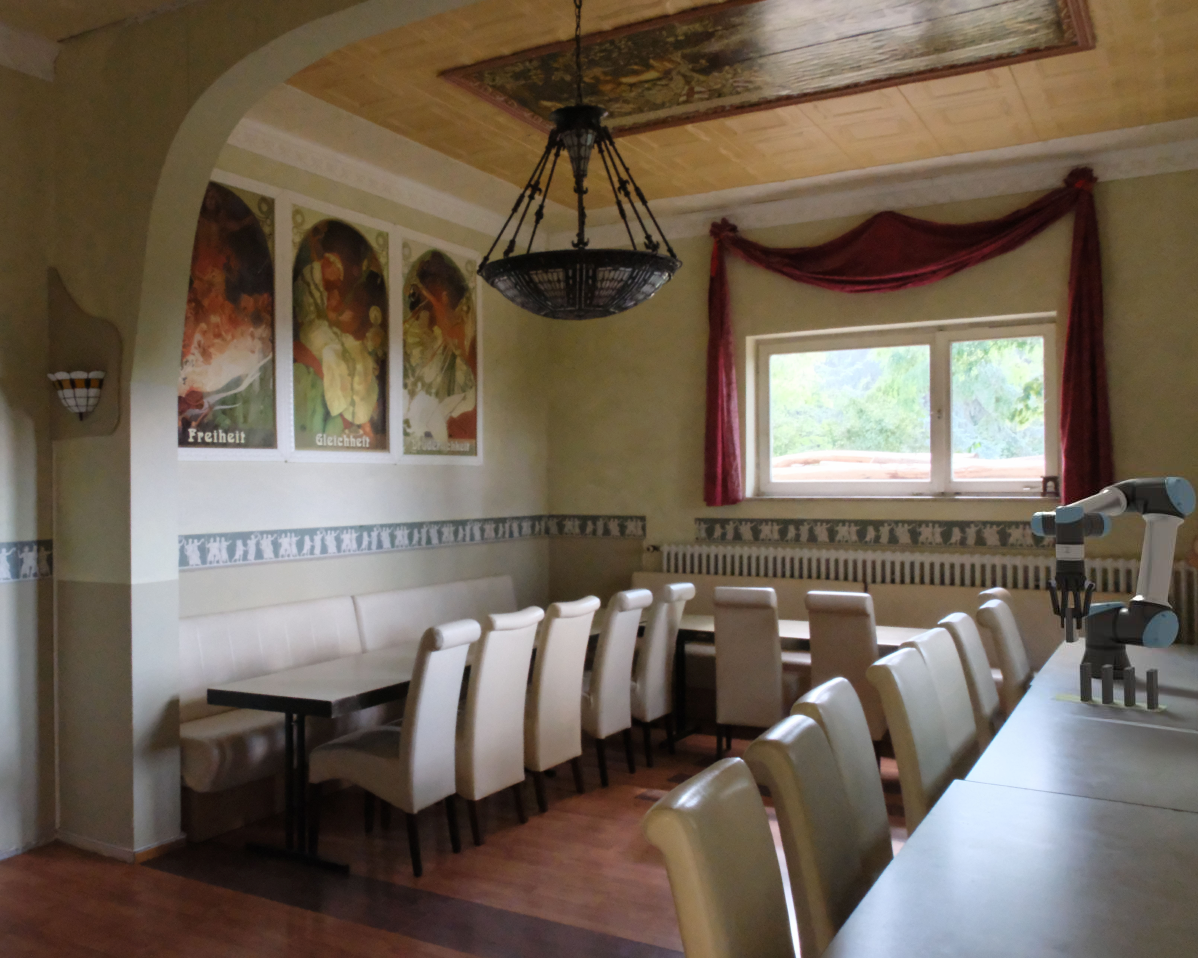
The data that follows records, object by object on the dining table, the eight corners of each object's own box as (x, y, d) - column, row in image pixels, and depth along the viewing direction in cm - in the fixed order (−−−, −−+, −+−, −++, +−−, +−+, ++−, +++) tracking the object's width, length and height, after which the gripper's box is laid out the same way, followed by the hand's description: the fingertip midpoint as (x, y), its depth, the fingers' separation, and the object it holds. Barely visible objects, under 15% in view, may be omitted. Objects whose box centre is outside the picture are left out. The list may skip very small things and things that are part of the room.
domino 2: (1085, 697, 274) (1085, 662, 274) (1091, 698, 273) (1091, 662, 273) (1080, 700, 270) (1079, 664, 270) (1086, 701, 269) (1085, 665, 269)
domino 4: (1129, 702, 266) (1128, 666, 267) (1135, 703, 265) (1134, 667, 266) (1124, 706, 263) (1123, 669, 263) (1130, 706, 262) (1130, 669, 262)
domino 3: (1107, 700, 270) (1106, 664, 270) (1113, 701, 269) (1112, 664, 269) (1102, 703, 266) (1101, 666, 266) (1108, 704, 265) (1107, 667, 265)
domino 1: (1071, 640, 285) (1070, 606, 285) (1077, 640, 284) (1076, 606, 284) (1066, 642, 281) (1065, 607, 281) (1071, 642, 280) (1071, 608, 280)
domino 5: (1151, 705, 263) (1150, 668, 263) (1158, 706, 262) (1157, 669, 262) (1147, 708, 259) (1146, 671, 259) (1153, 709, 258) (1153, 671, 258)
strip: (1060, 695, 280) (1060, 693, 280) (1167, 708, 262) (1167, 706, 262) (1051, 700, 273) (1050, 698, 273) (1159, 714, 255) (1159, 711, 255)
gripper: (1039, 558, 285) (1041, 639, 284) (1093, 560, 275) (1095, 643, 275) (1047, 557, 291) (1049, 636, 290) (1101, 559, 281) (1102, 640, 280)
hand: (1071, 639), depth 282 cm, fingers closed on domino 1, 2 cm apart
